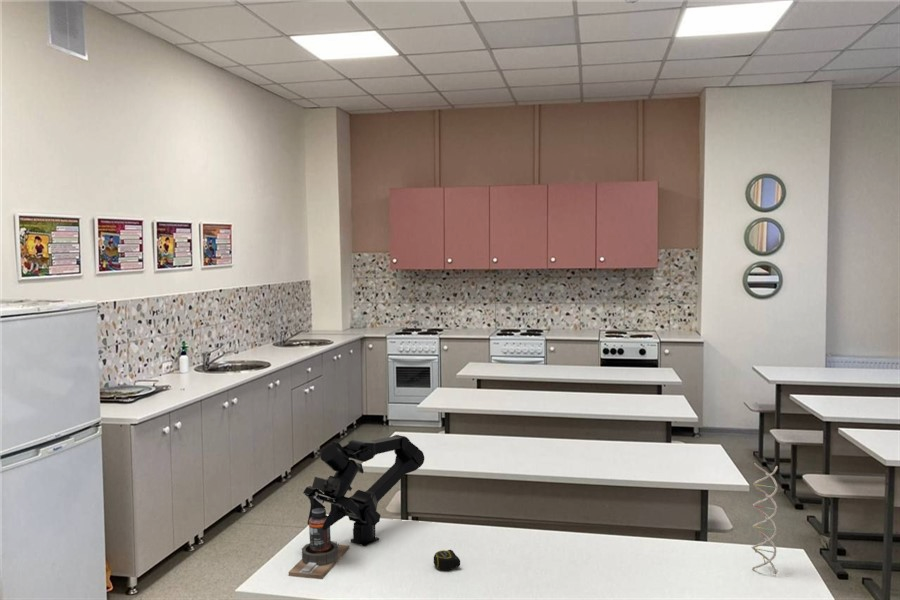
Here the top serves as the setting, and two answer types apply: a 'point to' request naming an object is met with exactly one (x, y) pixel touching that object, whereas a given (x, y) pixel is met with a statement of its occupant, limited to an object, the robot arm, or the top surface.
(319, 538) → the supplement bottle
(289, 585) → the top surface
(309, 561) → the clip holder
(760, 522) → the dna model
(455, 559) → the tape measure
